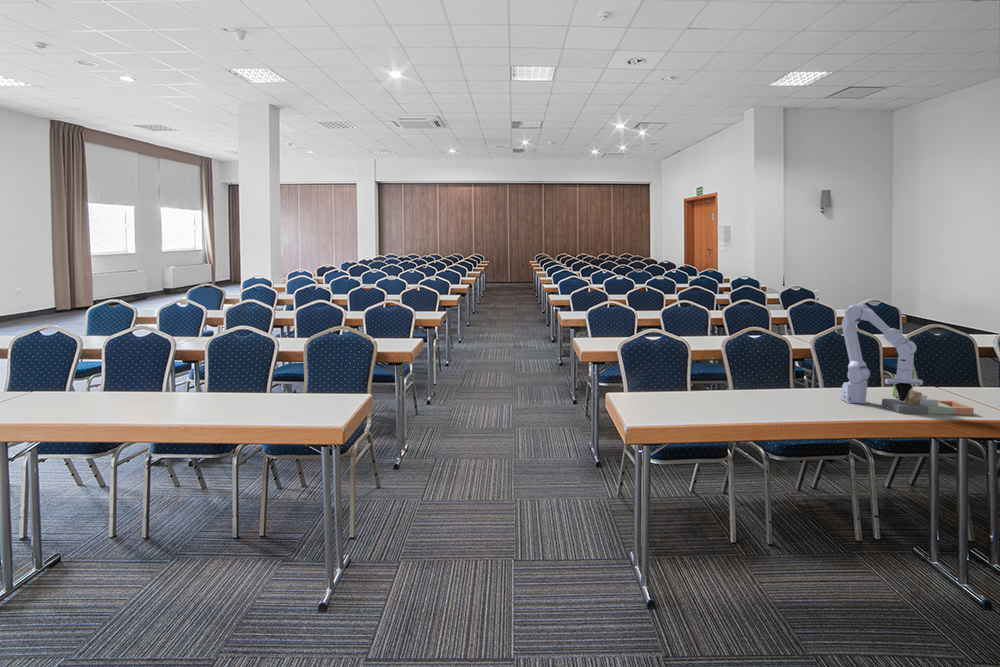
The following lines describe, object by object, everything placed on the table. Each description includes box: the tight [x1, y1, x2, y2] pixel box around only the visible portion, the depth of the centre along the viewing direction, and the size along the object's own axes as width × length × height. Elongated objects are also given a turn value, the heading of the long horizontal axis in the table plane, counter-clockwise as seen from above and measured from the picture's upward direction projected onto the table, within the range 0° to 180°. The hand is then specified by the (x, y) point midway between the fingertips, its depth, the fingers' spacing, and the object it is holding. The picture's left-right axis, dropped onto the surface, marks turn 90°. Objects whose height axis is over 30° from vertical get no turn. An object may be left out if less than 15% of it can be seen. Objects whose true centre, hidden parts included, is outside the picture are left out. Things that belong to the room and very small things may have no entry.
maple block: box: [903, 390, 923, 404], centre depth 280 cm, size 5×5×5 cm
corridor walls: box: [918, 394, 940, 406], centre depth 280 cm, size 8×9×2 cm
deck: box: [881, 398, 975, 416], centre depth 280 cm, size 30×14×3 cm, turn 86°
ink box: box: [892, 369, 915, 398], centre depth 304 cm, size 7×4×13 cm, turn 84°
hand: (902, 400), depth 280 cm, fingers closed
